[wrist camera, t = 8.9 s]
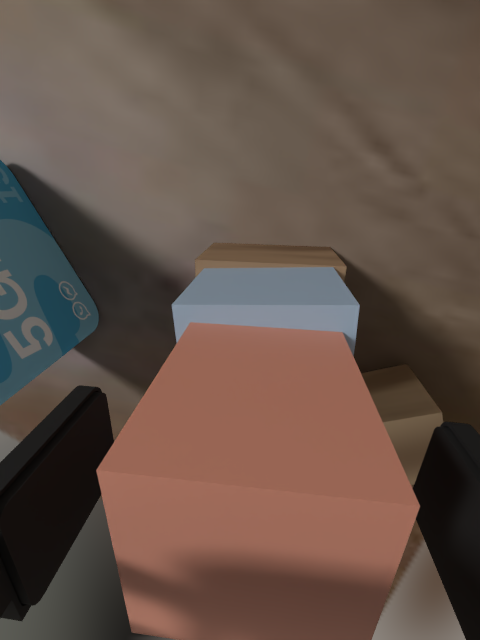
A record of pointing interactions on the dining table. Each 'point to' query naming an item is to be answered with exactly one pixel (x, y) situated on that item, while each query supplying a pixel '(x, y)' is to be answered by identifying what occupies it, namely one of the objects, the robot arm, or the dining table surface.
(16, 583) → the robot arm
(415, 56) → the dining table surface
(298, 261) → the tower base
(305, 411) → the salmon orange block
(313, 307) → the tower top
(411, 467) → the block
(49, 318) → the data package
